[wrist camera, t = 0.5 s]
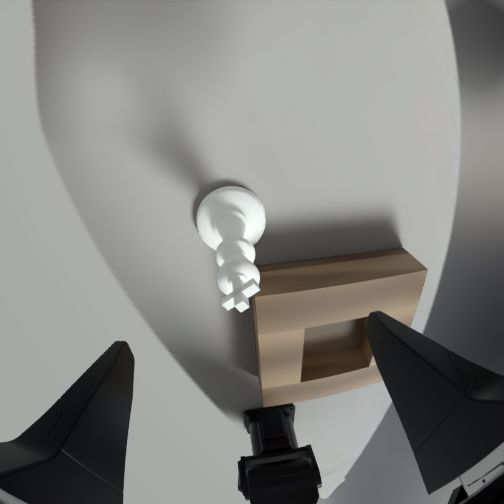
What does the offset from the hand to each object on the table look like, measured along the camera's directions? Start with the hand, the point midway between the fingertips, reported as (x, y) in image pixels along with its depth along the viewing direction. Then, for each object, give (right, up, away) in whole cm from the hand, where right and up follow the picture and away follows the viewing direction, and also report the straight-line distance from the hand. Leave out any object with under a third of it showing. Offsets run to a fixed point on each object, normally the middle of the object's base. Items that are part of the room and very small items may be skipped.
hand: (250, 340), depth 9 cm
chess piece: (-1, +6, +11) cm, 12 cm away
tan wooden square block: (+7, -3, +16) cm, 18 cm away
